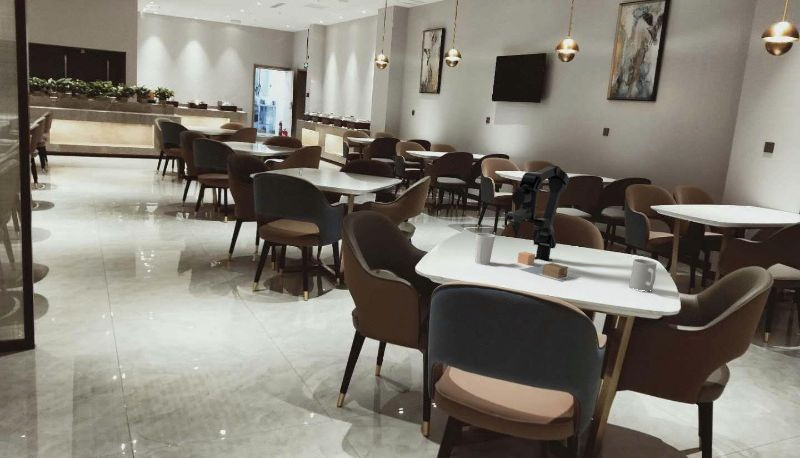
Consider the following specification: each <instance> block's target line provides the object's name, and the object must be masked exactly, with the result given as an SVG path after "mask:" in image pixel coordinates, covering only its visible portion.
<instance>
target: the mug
mask: <svg viewBox="0 0 800 458" xmlns="http://www.w3.org/2000/svg"><path fill="white" fill-rule="evenodd" d="M656 271H657V262H655V261H652V260H648V259H642V258H640V259H639V258H636V259H635V258H634V259H633V261H632V267H631V273H630V277H629V280H630V281H629V283H628V284H629V285H628V287H629V288H630V287H631V288H634V289H638V290H645V291H650V290H652V291H653V289H654V284H655V282H656ZM631 288H630V289H631Z"/></svg>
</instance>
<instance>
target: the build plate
mask: <svg viewBox="0 0 800 458" xmlns="http://www.w3.org/2000/svg"><path fill="white" fill-rule="evenodd" d="M518 270H519V271H522V272H524V273H525V272H526V273H529V274H533V275H537V276H539V277H543V278H547V279H551V280H554V281H557V282H561V283H564V282H568V281H572V280H576V279H579V278H582V276H580V275H577V274H573V273H570V272H567V277H563V278H559V279H556V278H553V277H549V276H546V275H542V271H543V265H540V264H539V265H533V266H530V267H525V268H520V269H518Z"/></svg>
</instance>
